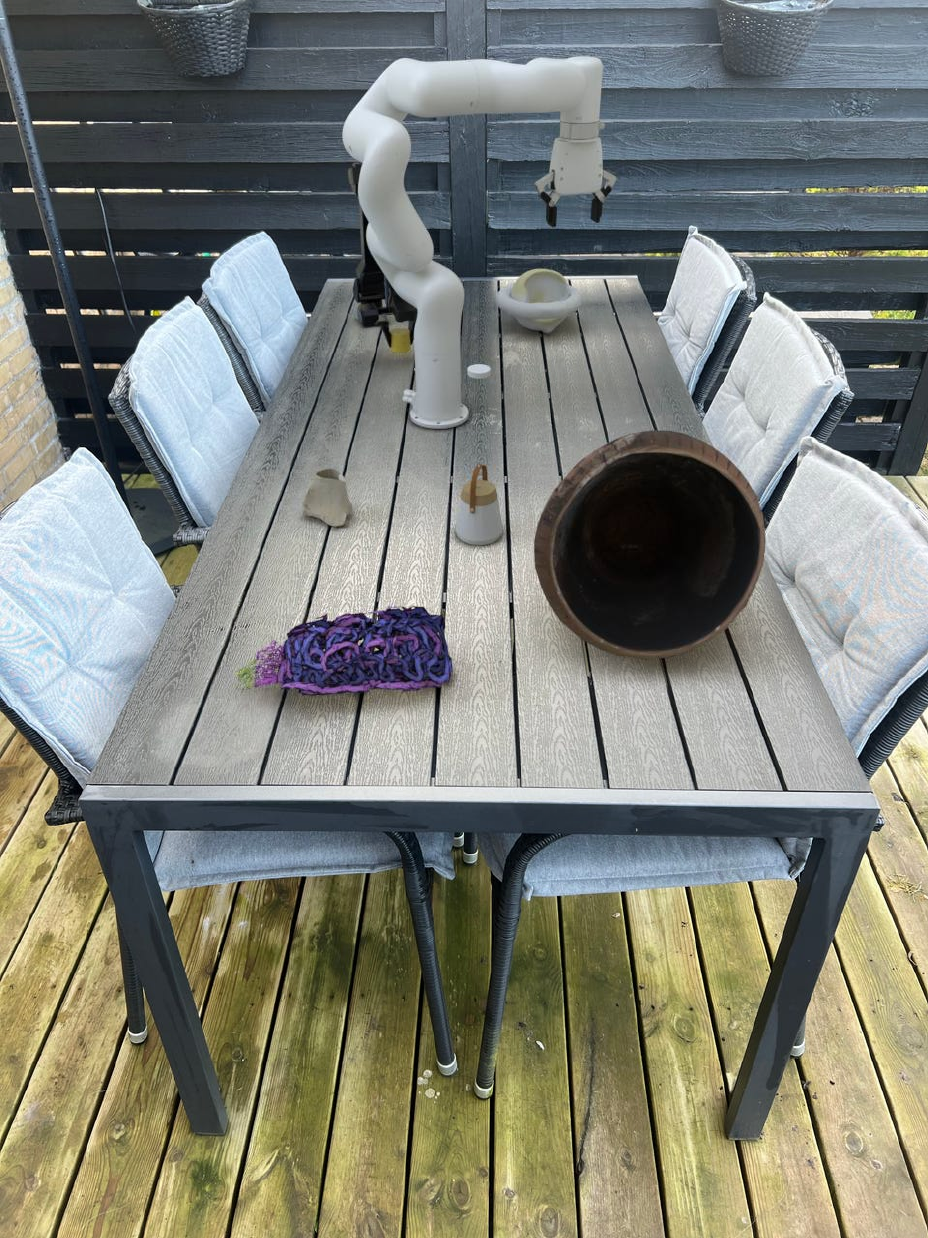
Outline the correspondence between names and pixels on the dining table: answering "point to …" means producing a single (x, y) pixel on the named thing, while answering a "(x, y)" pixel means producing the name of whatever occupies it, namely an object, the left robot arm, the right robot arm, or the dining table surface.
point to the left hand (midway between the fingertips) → (400, 345)
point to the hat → (539, 299)
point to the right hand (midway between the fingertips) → (573, 223)
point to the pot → (650, 545)
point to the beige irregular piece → (327, 498)
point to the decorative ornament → (358, 654)
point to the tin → (400, 340)
